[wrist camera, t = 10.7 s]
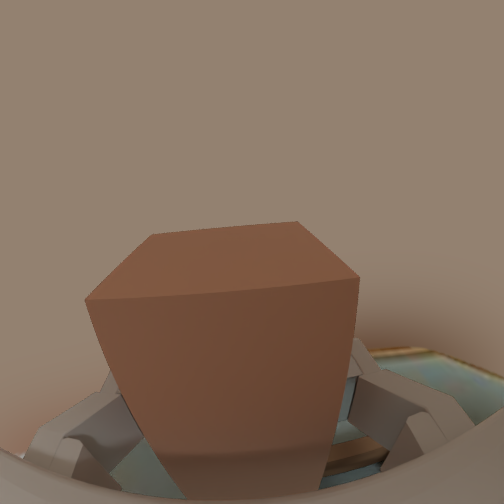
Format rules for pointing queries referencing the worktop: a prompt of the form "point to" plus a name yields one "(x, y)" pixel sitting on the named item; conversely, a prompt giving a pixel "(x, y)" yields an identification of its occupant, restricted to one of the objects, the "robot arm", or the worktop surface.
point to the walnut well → (354, 455)
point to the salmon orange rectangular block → (232, 354)
